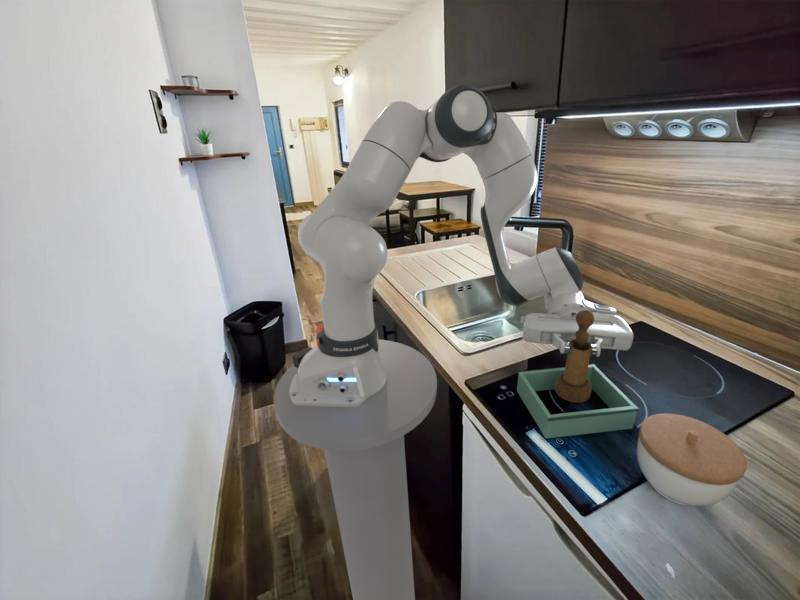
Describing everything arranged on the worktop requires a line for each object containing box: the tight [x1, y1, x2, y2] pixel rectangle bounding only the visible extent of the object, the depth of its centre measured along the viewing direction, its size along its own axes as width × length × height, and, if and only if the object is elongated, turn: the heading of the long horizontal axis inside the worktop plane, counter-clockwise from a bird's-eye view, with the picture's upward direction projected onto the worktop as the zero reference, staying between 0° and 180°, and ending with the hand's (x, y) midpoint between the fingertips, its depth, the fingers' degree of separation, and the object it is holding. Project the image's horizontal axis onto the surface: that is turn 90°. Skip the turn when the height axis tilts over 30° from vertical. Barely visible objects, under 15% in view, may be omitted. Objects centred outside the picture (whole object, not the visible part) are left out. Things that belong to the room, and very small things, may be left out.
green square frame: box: [516, 363, 640, 439], centre depth 73 cm, size 17×14×5 cm
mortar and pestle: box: [554, 310, 594, 404], centre depth 69 cm, size 7×6×18 cm
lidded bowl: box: [636, 412, 748, 507], centre depth 55 cm, size 13×13×11 cm
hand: (580, 352), depth 68 cm, fingers closed on mortar and pestle, 4 cm apart
